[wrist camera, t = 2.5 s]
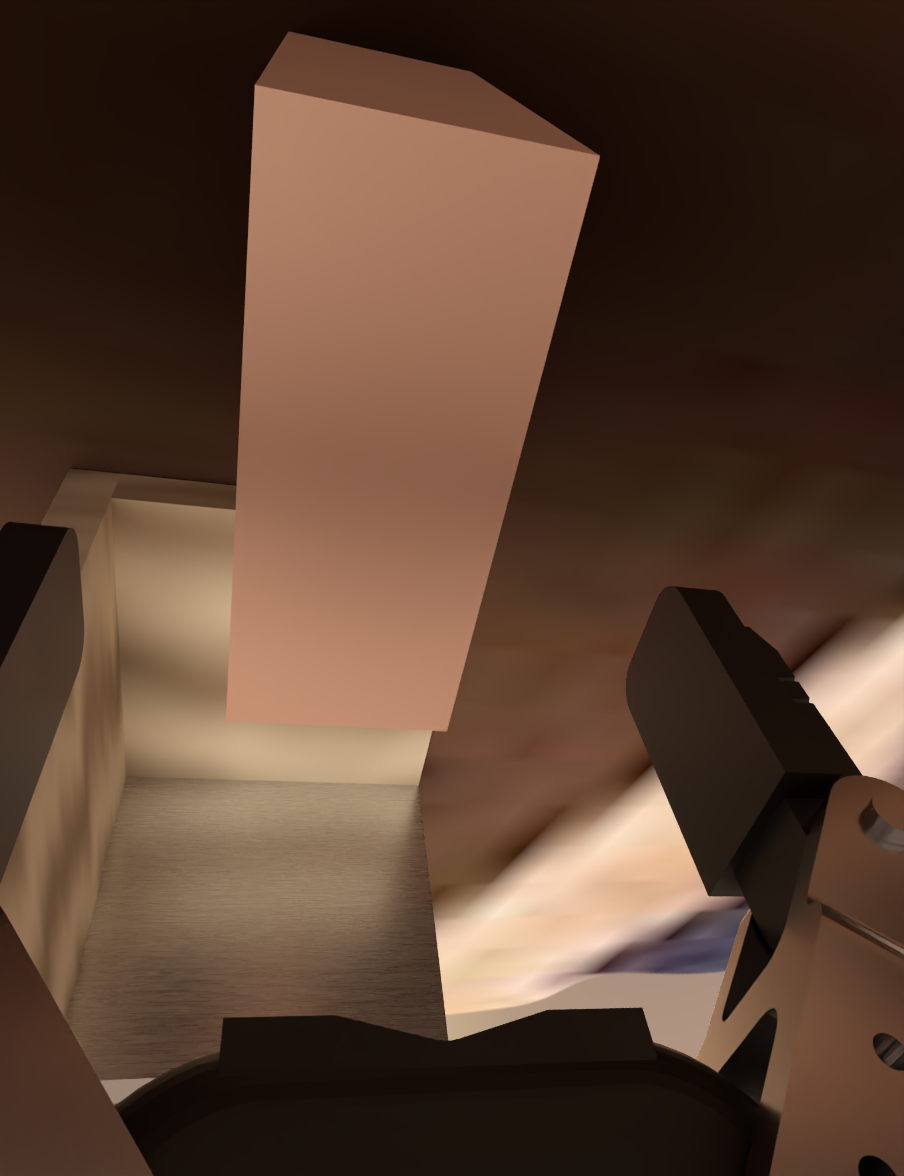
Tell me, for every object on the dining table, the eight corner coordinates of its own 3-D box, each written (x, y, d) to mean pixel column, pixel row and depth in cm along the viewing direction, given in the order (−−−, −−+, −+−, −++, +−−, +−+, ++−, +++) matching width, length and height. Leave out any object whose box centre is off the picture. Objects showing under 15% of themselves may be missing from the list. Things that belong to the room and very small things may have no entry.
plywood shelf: (69, 468, 25) (-118, 829, 15) (475, 510, 28) (568, 840, 17) (95, 771, 33) (-13, 1148, 23) (409, 781, 36) (445, 1121, 25)
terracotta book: (288, 31, 19) (255, 84, 10) (471, 71, 20) (600, 155, 11) (262, 445, 26) (225, 721, 16) (402, 461, 27) (446, 730, 17)
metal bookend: (126, 776, 32) (50, 1082, 23) (418, 785, 34) (451, 1064, 25) (127, 801, 32) (55, 1105, 24) (412, 808, 35) (442, 1086, 26)
